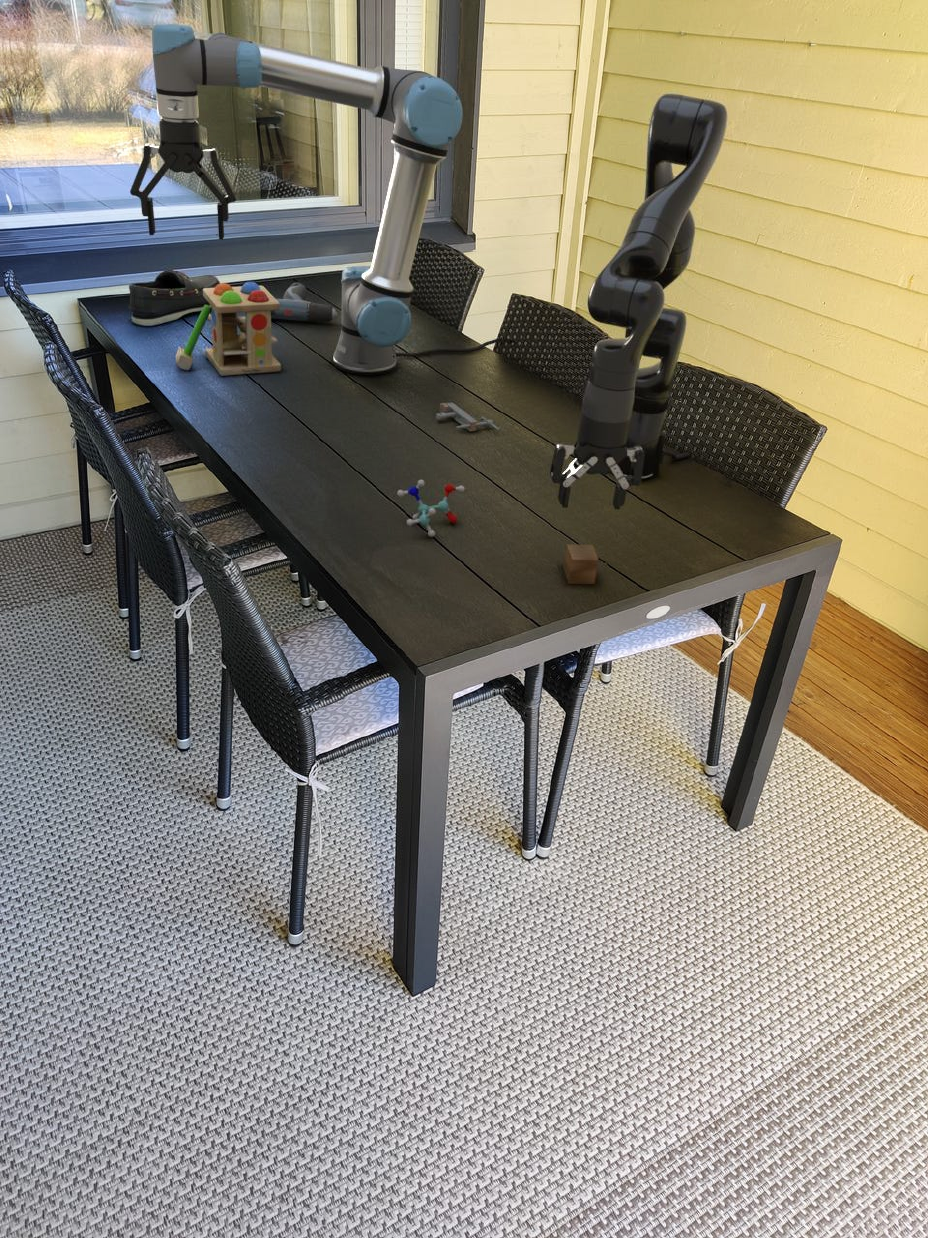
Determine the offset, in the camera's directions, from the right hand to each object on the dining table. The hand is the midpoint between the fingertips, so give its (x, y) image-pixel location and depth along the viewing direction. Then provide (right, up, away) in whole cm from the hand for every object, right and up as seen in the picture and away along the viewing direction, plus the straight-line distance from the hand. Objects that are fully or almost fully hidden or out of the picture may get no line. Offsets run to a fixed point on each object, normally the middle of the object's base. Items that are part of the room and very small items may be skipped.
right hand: (590, 506), depth 157 cm
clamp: (-20, +24, +56) cm, 64 cm away
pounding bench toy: (-76, +42, +73) cm, 114 cm away
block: (-1, -11, +7) cm, 13 cm away
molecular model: (-27, -1, +18) cm, 32 cm away
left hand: (-76, +59, +41) cm, 105 cm away
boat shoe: (-96, +64, +103) cm, 155 cm away
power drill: (-63, +65, +110) cm, 143 cm away
